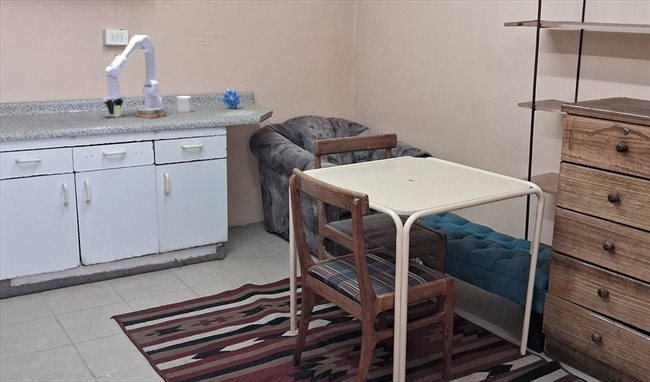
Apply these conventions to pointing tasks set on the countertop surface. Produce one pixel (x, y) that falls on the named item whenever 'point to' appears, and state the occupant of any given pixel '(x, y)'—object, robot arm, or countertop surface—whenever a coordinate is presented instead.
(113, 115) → the green block
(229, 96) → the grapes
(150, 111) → the tower top
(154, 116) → the tower base
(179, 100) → the medicine box
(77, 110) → the countertop surface
